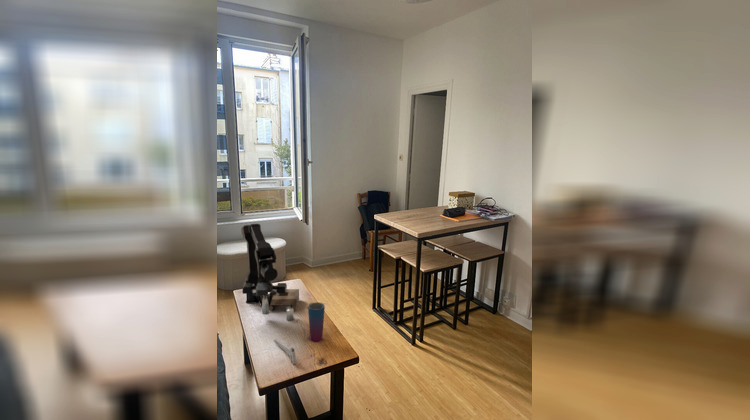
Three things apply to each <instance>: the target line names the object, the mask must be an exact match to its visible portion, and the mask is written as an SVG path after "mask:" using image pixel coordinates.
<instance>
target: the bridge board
mask: <svg viewBox="0 0 750 420" xmlns="http://www.w3.org/2000/svg"><path fill="white" fill-rule="evenodd" d="M268 294H270V292H268ZM299 301H300V289H298V288H295V289H294V288H292V289H291V288H289V289H288V288H287V289H286V292H285V293H276V295H273V298H272V301H271V304H270V306H269V312H272V311H273V308H274V306H289V305H290V306H291V308H293V309H294V312H296V311H297V310H298V306H299Z"/></svg>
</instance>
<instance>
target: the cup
mask: <svg viewBox="0 0 750 420" xmlns="http://www.w3.org/2000/svg"><path fill="white" fill-rule="evenodd" d="M325 307H326V305H325V303H323V302H320V301H318V302H317V301H315V302H311V303H309V304H308V306H307V310H308V326H309V327H308V329H309V339H310V341H311V342H313V343H319V342H322V340H323V334H324V322H325V321H324V318H325Z"/></svg>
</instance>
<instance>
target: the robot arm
mask: <svg viewBox="0 0 750 420" xmlns="http://www.w3.org/2000/svg"><path fill="white" fill-rule="evenodd" d="M240 232H241V235H242V238H243V239H244V241H245V242H246V248H247V249H246V252H247V253H246V254H247V267H248V268H247V269H248V270H247V273H246V274H245V280H244V282H243V286H242V291H241V292H242V294H245V296H246V300H245V304H259V305H260V307H262V295H264V296H265V295H268V294H269V293H270V294H269V306H270V304H271V301H272V298H273V295H276V293H285V292H286V289H288V284H287V283H286V282H278V283H277V285H273V282H272V281H274V280H276V279H277V277H278V269H276V268H275V267H274V265H273V264H276V263H277V261H276V260H277V256H276V252H275V250H274V248H273V247H272V246H271V244H270V243H269V242H267V241H266V239H265V236H264V234H263V232H262V227H261V224H260V223H250V224H245V225H243V226H242V227H241V228H240Z"/></svg>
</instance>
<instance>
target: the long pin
mask: <svg viewBox="0 0 750 420" xmlns="http://www.w3.org/2000/svg"><path fill="white" fill-rule="evenodd" d="M269 314H270V311H269V293H268V295H265V296H264V295H262V306H261V315H263V316H264V315H269Z"/></svg>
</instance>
